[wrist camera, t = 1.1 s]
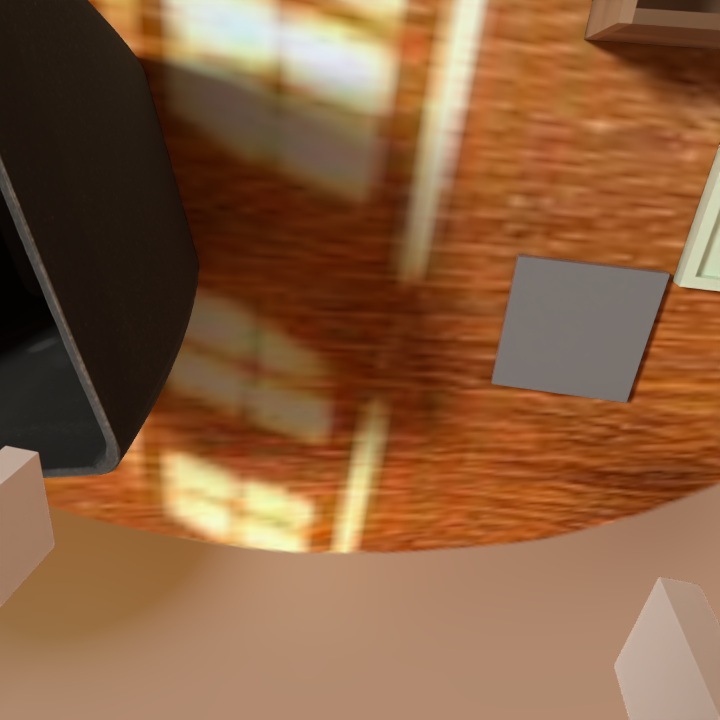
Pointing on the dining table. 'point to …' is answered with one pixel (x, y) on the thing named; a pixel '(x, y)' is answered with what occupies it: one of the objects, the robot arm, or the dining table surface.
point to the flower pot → (83, 240)
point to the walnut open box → (656, 22)
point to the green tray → (703, 239)
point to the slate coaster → (576, 326)
